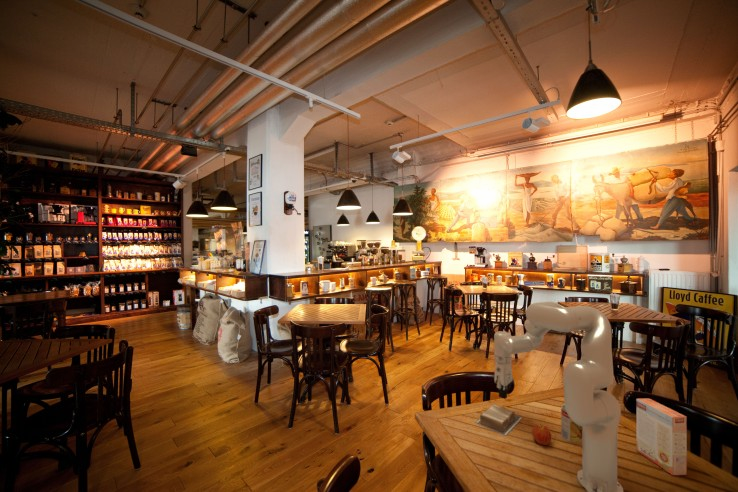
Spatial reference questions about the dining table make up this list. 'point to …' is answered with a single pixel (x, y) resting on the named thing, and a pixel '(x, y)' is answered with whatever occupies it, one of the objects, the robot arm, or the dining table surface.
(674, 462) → the cracker box
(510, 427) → the mat
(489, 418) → the plaque
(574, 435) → the canned food
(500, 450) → the dining table surface
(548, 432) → the fruit
